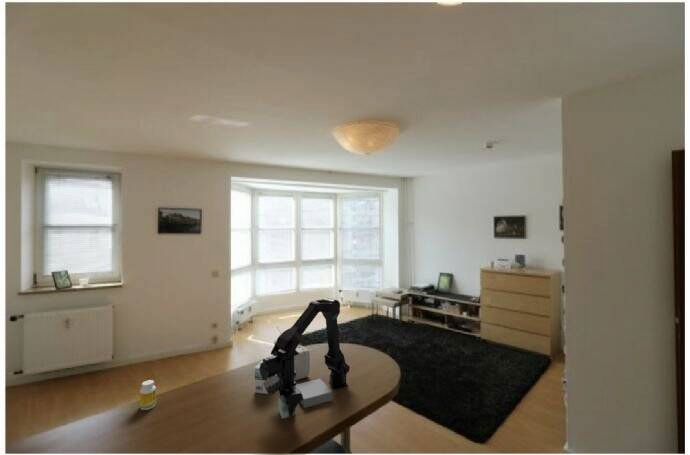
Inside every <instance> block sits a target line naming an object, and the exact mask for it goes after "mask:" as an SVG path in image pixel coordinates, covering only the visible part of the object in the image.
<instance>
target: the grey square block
mask: <svg viewBox="0 0 690 455" xmlns="http://www.w3.org/2000/svg"><path fill="white" fill-rule="evenodd" d="M293 389H298V390H300V392H301V393H302V395H303V400H302V401H300V402H301V403H300V402H299V403H300V404H301V406H302V405H303V406H302V407H303V408H304V409H306V408H305V407H307V408H310V407H314V406H317V405H320V404H324V403H327V402H331V401H333V391H332V390H331V388H330V387H329V386H328V385H327V384H326V383H325V382H324V381H323V380H322V379H321V378H318V379H313V380H310V381H309V380H308V381H305V382H301V383H296V386H293ZM309 406H310V407H309Z"/></svg>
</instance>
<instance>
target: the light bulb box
mask: <svg viewBox="0 0 690 455" xmlns="http://www.w3.org/2000/svg"><path fill="white" fill-rule="evenodd" d="M262 362H263V360H262V361H260V363H258V364H257V365H256V366H255V367H254V393H255V394H256V393H257V394H264V395H268V393H267V391H266V389H265V387H264V384H263V383H264V382H265V381H266V380H268V379H270V378H272V377H273V376H272V377H269V378H267V379H264V378H263V377H262V376H261V374H260V370H259V367H260V364H261V363H262Z"/></svg>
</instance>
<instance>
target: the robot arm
mask: <svg viewBox="0 0 690 455" xmlns="http://www.w3.org/2000/svg"><path fill="white" fill-rule="evenodd" d="M319 313H321V314H322V316H323V317H324V320H325V327H326V328H325V329H326V336H327V337H326V339H327V349H328V350H327V353H326V354H325V355H324V356H323V357H324V364H325V366H326V367H327V369H328V370H329V371H330V374H329V382H328V383H329V384H330V386H331V387H333V389H335V390H337V389H340V388H344V387H347V386H349V384H348V382H347V374H348V373H350V368H351V367H350V365H348V364H347V362H346V358H345V354H344V353H343V352H342V350H341V348H340V339H339V337H340V336H339V335H340V334H339V325H338V317H339V315H340V313H341V303H340V301H339V300H337V299H334V298H329V297H324V298H322V299H316V300H312V301H310V302H309V303H308V305H307V307H306V309H304V311H303V312H302V313H301V315H300V316H299V317H298V319H297V320H296V321H295V322H294V324H292V326H291V327H290V328H287V329H286V330H284V331H283V332H281V333H282V334H281V333H280V335H279V336H278V337H277V339H276V340H277V342H276V344H275V345H273V348H272V349H271V352H270V354H271V356H268V357H264V358H263V359H262V361H263V362H262V361H261V362H262V363H261V362H260V363H261V364H260V367H259V370H260V374H261V376H262V377H263V378H264V379H267V378H269V377H272V376H273V377H272V378H270V379H268V380H266V381H265V382H264V383H263V384H264V387H265V389H266V391H267V393H268V394H267V395H268V396H271V395H273V394H276V393H277V392H278V393H279V396H281V395H283V399H284V400H283V401H284V403H285V404H286V405H287V406H288V413H289V416H290V417H293V416H294V415H293V413H294V411H295V412H296V408H297V407H298V405H299V403H300V401H302V400H303V395H302V393H301V392H300V390H298V389H294V386H296V384H297V382H296V380H294V375H296V372H295V370H294V356H296V355H298V354H299V352H297V351H296V348H297V347H298V345H300V343H301V340H302V335H303V334H304V333H305V331H306V330H307V328H309V326H310V325H311V323H312V322H313V321H314V319H315V318H316V317H317V316H318V314H319ZM279 349H280V350H282V351H284V353H282V352H280V351H278V350H279ZM292 415H293V416H292Z"/></svg>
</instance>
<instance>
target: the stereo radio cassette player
mask: <svg viewBox="0 0 690 455" xmlns="http://www.w3.org/2000/svg"><path fill="white" fill-rule="evenodd" d="M276 329H278V331H279V333H280V335H281V334H282V333H283V332H282V331H281V330H280V329H279V327H276ZM276 342H277V339H276V340H274V342H273V344H274V345H273V346H275V344H276ZM278 351H280V352H282V353H284V351H282V350H280V349H279V350H278ZM296 351H297V352H299V354H298V355H296V356H294V370H295V372H296V375H294V381H295V382H296V381H298V380H301V379H305V378H307V377H308V376H310V369H311V368H310V367H311V362H310V361H311V358H310V357H311V354H310V350H309V349H307V348H306V347H304V346H302V345H300V344H299V345H298V347H297V348H296Z"/></svg>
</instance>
